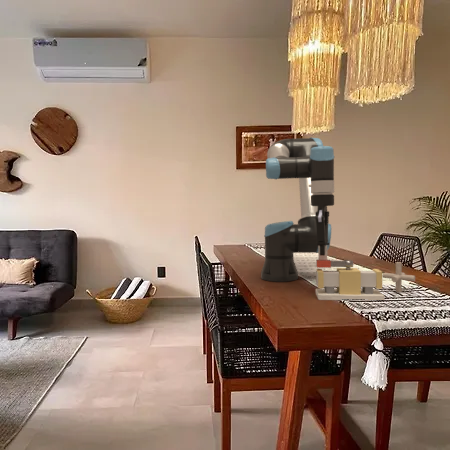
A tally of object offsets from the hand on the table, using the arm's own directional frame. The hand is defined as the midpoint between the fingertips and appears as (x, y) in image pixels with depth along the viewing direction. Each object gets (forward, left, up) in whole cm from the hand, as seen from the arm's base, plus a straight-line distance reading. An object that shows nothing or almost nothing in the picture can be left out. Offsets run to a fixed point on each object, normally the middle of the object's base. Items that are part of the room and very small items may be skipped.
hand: (322, 264), depth 126 cm
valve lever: (+2, +4, 0) cm, 4 cm away
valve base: (+2, +8, -10) cm, 13 cm away
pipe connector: (-6, +26, -10) cm, 28 cm away
